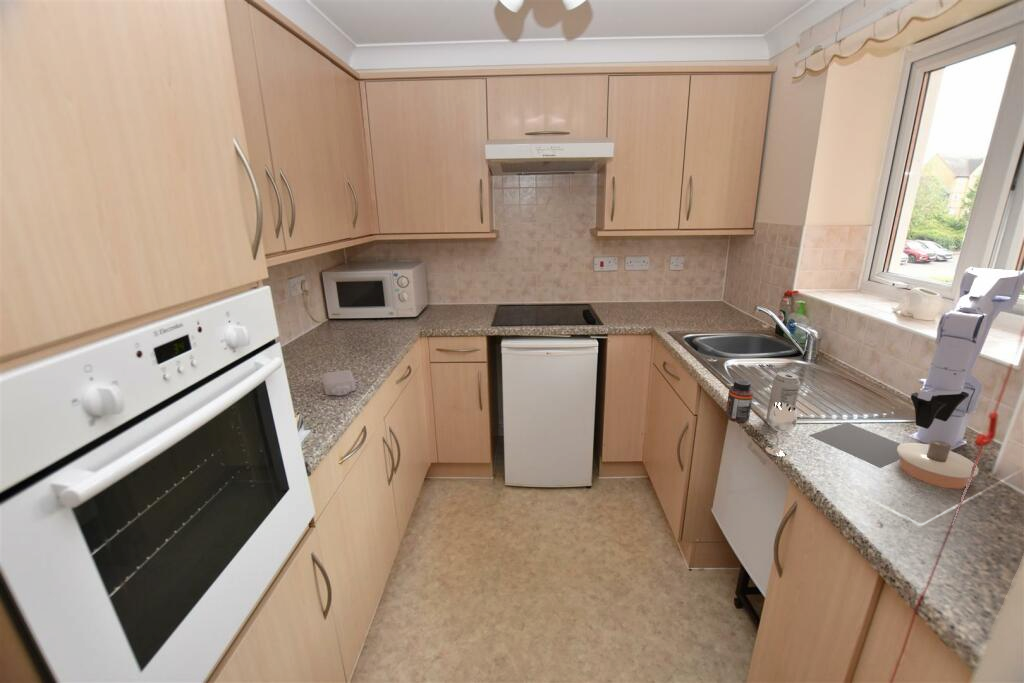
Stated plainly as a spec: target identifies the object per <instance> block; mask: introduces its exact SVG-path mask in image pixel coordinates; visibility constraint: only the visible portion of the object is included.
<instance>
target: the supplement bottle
mask: <svg viewBox="0 0 1024 683" xmlns="http://www.w3.org/2000/svg"><path fill="white" fill-rule="evenodd" d="M751 385H752V384H751V381H749V380H746V379H743V378H737V379H734V381H733V385H732V386H730V387H729V389H728V394H727V395H728V396H727V402H726V406H725V407H726V408H725V418H726V419H727V420H728V421H731V422H734V423H735V422H738V423H747V422H748V421H749V420H750V414H751V408H752V402H753V397H754V391H753V390H752V389H751Z"/></svg>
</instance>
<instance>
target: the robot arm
mask: <svg viewBox="0 0 1024 683" xmlns="http://www.w3.org/2000/svg"><path fill="white" fill-rule="evenodd" d="M1023 288H1024V270H1020V271H1019V270H1007V269H997V268H995V269H993V268H982V267H980V268H979V267H974V266H970V267H968V268H967V269H965V270H964V273H963V276H962V278H961V280H960V286H959V296H958V298H959V299H957V301H956V302H955V304H954V306H953V307H952V308H951V309H950V311H949V312H944V313H943V314H942V315H941V317H940V319H939V321H938V325H937V330H936V339H935V345H936V346H935V349H934V352H933V355H932V359H931V363H930V366H929V369H928V371H927V376H926V378H921V379H918V384H921V385H922V388H920V389H919V390H918V392H914V393H911V395H910V399H911V401H912V404H913V407H914V413H915V425H916V426H918V429H917V431H916V432H914V433H912V434H909V435H908V437H909V438H911V439H914V440H916V441H919V442H920V443H921V442H922V443H923V444H928V445H930V442H931V441H932V440H938V441H942V442H945V443H947V444H949V445H950V446H951V448H950V451H953V450H954V449H957V448H959V447H962V446H963V445H964V446H965V445H967V444H968V442H967V441H965V440H963V439H964V436H965V433H966V431H967V427H968V425H969V421H970V417H969V415H973V414H976V411H977V409H978V407H979V404H980V402H981V399H982V395H983V391H984V384H983V382H981V380H979V379H978V378H977V377H976V376H975V375H974V374H973V372H974V369H975V367H976V364H977V362H978V360H979V357H980V354H981V352H982V350H983V347H984V345H985V342H986V340H987V337H988V336H989V332H990V330H991V328H992V325H993V322H994V320H996V319H997V317H998V316H999V314H1000V313H1001V312H1005V311H1009V310H1012V309H1013V308H1014V306H1015V305H1016V304H1017V302H1018V299H1019V297H1020V295H1021V293H1022V291H1023Z"/></svg>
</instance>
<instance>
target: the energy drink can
mask: <svg viewBox="0 0 1024 683" xmlns="http://www.w3.org/2000/svg"><path fill="white" fill-rule="evenodd" d="M799 378H800V377H799V375H798V374H796V373H793V372H789V371H779V372H776V375H775V376H774V377H773V379H772V385H771V390H770V395H769V401H768V406H767V412H766V417H765V422H766V424H767V425H768V426H769V427H770V425H769V423H768V415H769V412H770V409H771V407H772V406H773V404H774V403H777V402H781V403H787V404H790V405H792V406H794V407H795V408H796V406H797V402H798V397H799V391H800V388H801V381H800V379H799Z"/></svg>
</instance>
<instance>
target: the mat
mask: <svg viewBox="0 0 1024 683" xmlns="http://www.w3.org/2000/svg"><path fill="white" fill-rule="evenodd" d="M808 435H809V436H810V437H812V438H813V439H816V440H819V441H821V442H823V443H825V444H827V445H829V446H832V447H834V448H836V449H838V450H840V451H843V452H845V453H846V454H849V455H852V456H854V457H855V458H857V459H860V460H862V461H865V462H867V463H868V464H871V465H874V466H876V467H877V468H880V469H881V468H883V467H886V466H888V465H890V464H893V463H895V462H897V461H900V456H899V455H898V453H897V447H898V446H899V445H900V444H901V443H900V442H897V441H894V440H892V439H889V438H887V437H885V436H882V435H880V434H878V433H874V432H872V431H870V430H866V429H864V428H862V427H859V426H857V425H854V424H853V423H850V422H844V423H841V424H838V425H836V426H832V427H829V428H826V429H824V430H820V431H817V432H815V433H811V434H808Z"/></svg>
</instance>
